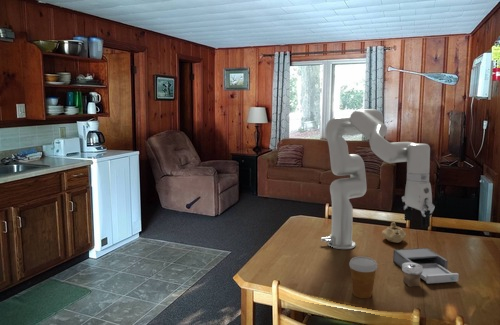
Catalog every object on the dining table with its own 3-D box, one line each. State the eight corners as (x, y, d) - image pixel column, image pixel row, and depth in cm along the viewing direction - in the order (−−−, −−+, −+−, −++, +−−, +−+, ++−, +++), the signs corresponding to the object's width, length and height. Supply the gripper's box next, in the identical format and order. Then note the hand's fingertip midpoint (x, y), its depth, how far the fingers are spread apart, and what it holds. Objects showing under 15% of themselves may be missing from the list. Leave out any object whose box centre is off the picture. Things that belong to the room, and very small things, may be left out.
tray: (428, 284, 144) (428, 276, 144) (408, 268, 158) (408, 261, 157) (459, 281, 146) (459, 274, 145) (436, 266, 159) (436, 259, 159)
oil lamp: (389, 247, 184) (389, 230, 183) (378, 236, 199) (378, 221, 197) (412, 246, 184) (413, 230, 183) (400, 236, 199) (400, 220, 198)
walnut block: (409, 286, 144) (409, 273, 143) (403, 281, 148) (404, 268, 147) (419, 285, 144) (420, 272, 144) (413, 281, 148) (414, 268, 148)
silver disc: (408, 275, 141) (408, 269, 141) (398, 267, 148) (398, 262, 148) (426, 274, 142) (426, 268, 142) (416, 266, 149) (416, 261, 149)
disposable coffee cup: (344, 288, 143) (345, 256, 141) (370, 287, 144) (371, 255, 142) (353, 301, 133) (354, 267, 132) (381, 299, 134) (382, 266, 133)
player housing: (410, 275, 153) (411, 262, 153) (393, 261, 167) (393, 249, 166) (446, 272, 155) (447, 260, 154) (426, 259, 169) (427, 247, 168)
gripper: (443, 180, 137) (441, 229, 139) (412, 173, 154) (411, 217, 156) (424, 181, 135) (423, 230, 137) (394, 174, 152) (394, 218, 154)
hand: (416, 223), depth 146 cm, fingers open, 9 cm apart
